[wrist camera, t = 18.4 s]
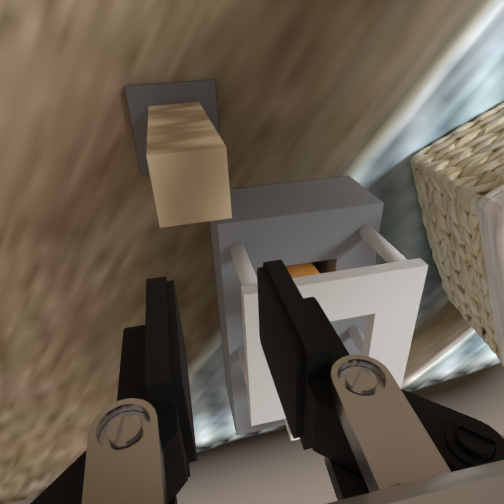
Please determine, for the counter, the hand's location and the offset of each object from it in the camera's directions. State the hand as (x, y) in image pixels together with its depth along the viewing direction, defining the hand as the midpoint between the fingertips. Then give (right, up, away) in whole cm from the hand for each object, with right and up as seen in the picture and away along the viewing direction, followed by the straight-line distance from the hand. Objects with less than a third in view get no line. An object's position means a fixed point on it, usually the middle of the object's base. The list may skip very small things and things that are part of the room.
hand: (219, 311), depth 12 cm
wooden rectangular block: (-5, +12, +21) cm, 25 cm away
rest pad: (-5, +12, +21) cm, 25 cm away
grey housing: (+4, -3, +32) cm, 33 cm away
